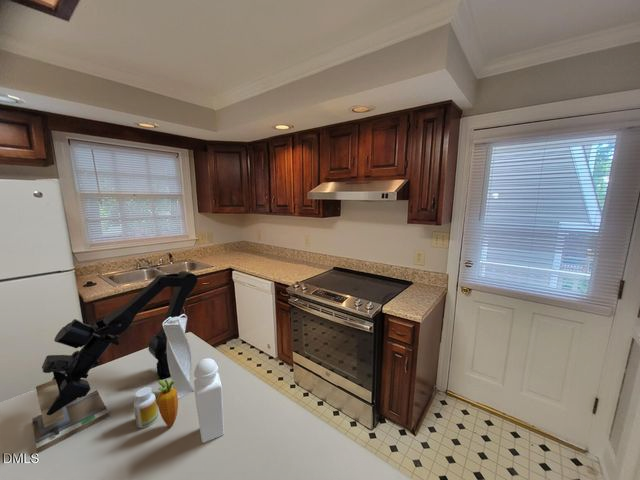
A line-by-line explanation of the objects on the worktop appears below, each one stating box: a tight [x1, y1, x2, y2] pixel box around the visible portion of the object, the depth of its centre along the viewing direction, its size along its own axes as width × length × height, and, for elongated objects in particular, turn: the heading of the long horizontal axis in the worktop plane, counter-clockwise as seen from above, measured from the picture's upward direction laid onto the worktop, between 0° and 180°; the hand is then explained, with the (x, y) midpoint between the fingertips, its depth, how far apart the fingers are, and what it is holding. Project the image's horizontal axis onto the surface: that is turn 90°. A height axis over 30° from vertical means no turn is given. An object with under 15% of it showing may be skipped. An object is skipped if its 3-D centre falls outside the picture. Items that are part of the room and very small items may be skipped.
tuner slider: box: [35, 379, 71, 437], centre depth 74 cm, size 6×12×12 cm, turn 50°
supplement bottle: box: [133, 386, 159, 429], centre depth 78 cm, size 5×5×10 cm
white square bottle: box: [193, 357, 225, 444], centre depth 73 cm, size 6×6×22 cm
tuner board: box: [31, 389, 110, 454], centre depth 79 cm, size 15×15×2 cm
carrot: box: [156, 378, 179, 428], centre depth 75 cm, size 5×5×15 cm
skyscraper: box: [161, 313, 195, 400], centre depth 88 cm, size 8×8×28 cm
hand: (46, 406), depth 75 cm, fingers open, 9 cm apart
